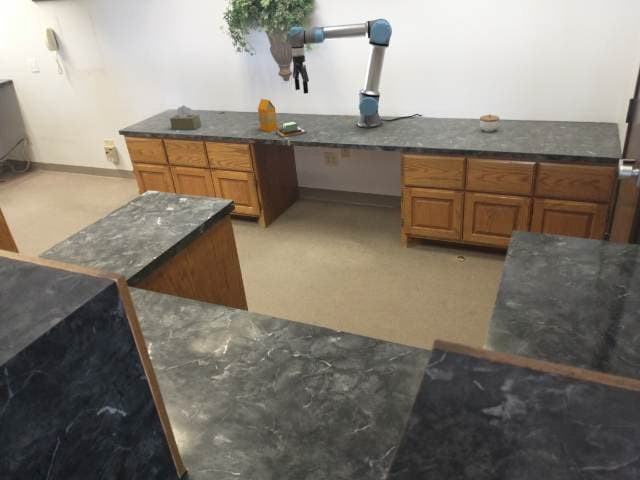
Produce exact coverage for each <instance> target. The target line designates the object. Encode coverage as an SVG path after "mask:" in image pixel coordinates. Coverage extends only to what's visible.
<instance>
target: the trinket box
mask: <svg viewBox="0 0 640 480" xmlns="http://www.w3.org/2000/svg"><path fill="white" fill-rule="evenodd" d="M499 122H500V117H499V115H493V114H486V115H481V116H480V117H479V125H480V128H481V130H482V131H483V132H485V133H491V132H494V131H495V130H496V129H497V128H498V126H499Z"/></svg>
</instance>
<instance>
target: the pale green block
mask: <svg viewBox="0 0 640 480" xmlns="http://www.w3.org/2000/svg"><path fill="white" fill-rule="evenodd" d="M281 125H282V128H283V130H284V131H285V132H288V131H293V130H298V129H297V127H298V123H297V122H295V121H290V122H284V123H281Z"/></svg>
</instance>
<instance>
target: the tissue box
mask: <svg viewBox="0 0 640 480" xmlns="http://www.w3.org/2000/svg"><path fill="white" fill-rule="evenodd" d="M192 111H193V110H192V108H190V107H187V106H186V105H184V104H182V105H181V106H179V107H178V108H177V114H176V115H174V116H171V117H170V118H169V121H170V127H171V130H181V131H182V130H183V131H184V130H186V131H188V130H189V131H190V130H193V131H194V130H197V129H198V128H200V127H202V124H201V118H200V114H191V113H192Z"/></svg>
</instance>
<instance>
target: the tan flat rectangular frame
mask: <svg viewBox="0 0 640 480" xmlns="http://www.w3.org/2000/svg"><path fill="white" fill-rule="evenodd" d="M297 129H298V130H293V131H288V132H285V131H284V130H283V127H282V128H281V127H280V128H278V130H275V134H277V135H278V136H280V137H281V138H286V137H291V136H295V135H300V134H305V133H306V130H304V129H302V128H300V127H299V126H297Z"/></svg>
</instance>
